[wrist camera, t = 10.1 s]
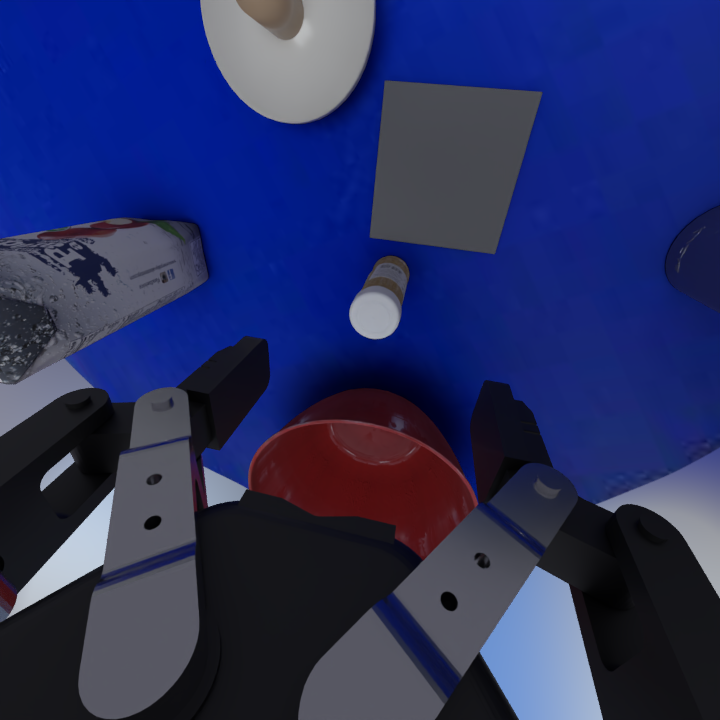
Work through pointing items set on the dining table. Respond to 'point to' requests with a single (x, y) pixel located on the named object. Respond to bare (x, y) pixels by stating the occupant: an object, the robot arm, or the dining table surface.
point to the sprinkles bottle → (380, 299)
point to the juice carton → (88, 285)
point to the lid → (291, 52)
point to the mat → (449, 163)
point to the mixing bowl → (368, 466)
